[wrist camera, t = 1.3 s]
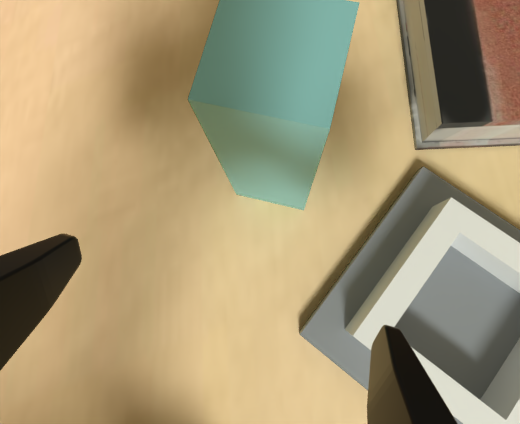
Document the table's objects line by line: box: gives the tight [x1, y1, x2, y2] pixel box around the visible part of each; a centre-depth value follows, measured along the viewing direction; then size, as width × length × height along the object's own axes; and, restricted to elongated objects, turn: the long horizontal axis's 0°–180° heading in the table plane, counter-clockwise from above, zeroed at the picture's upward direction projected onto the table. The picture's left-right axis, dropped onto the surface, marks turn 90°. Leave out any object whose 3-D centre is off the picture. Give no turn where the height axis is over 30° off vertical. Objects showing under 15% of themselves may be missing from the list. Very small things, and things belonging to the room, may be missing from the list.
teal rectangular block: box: [188, 0, 359, 210], centre depth 18 cm, size 5×5×13 cm
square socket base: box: [299, 167, 520, 424], centre depth 20 cm, size 14×14×4 cm
